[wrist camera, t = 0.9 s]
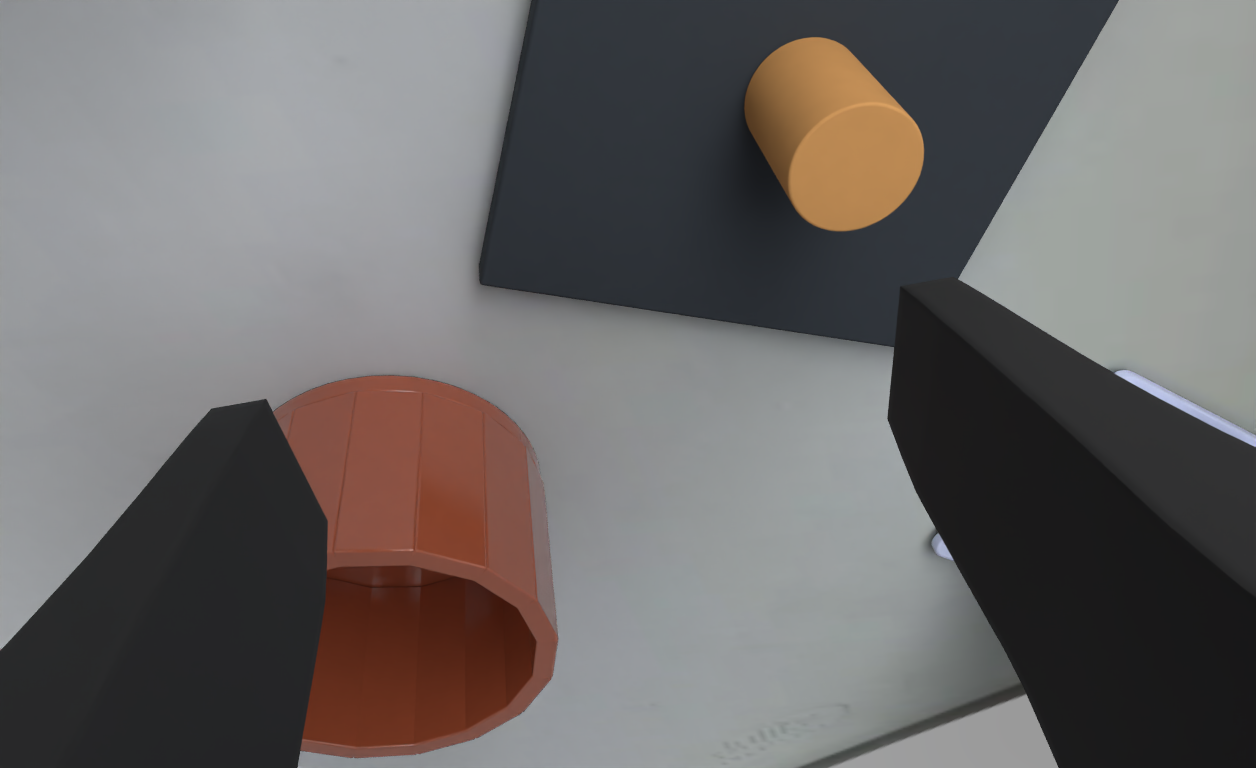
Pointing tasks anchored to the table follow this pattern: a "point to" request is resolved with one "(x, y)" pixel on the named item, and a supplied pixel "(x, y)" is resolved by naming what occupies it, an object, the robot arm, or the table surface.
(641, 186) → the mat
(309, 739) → the cup
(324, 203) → the table surface
